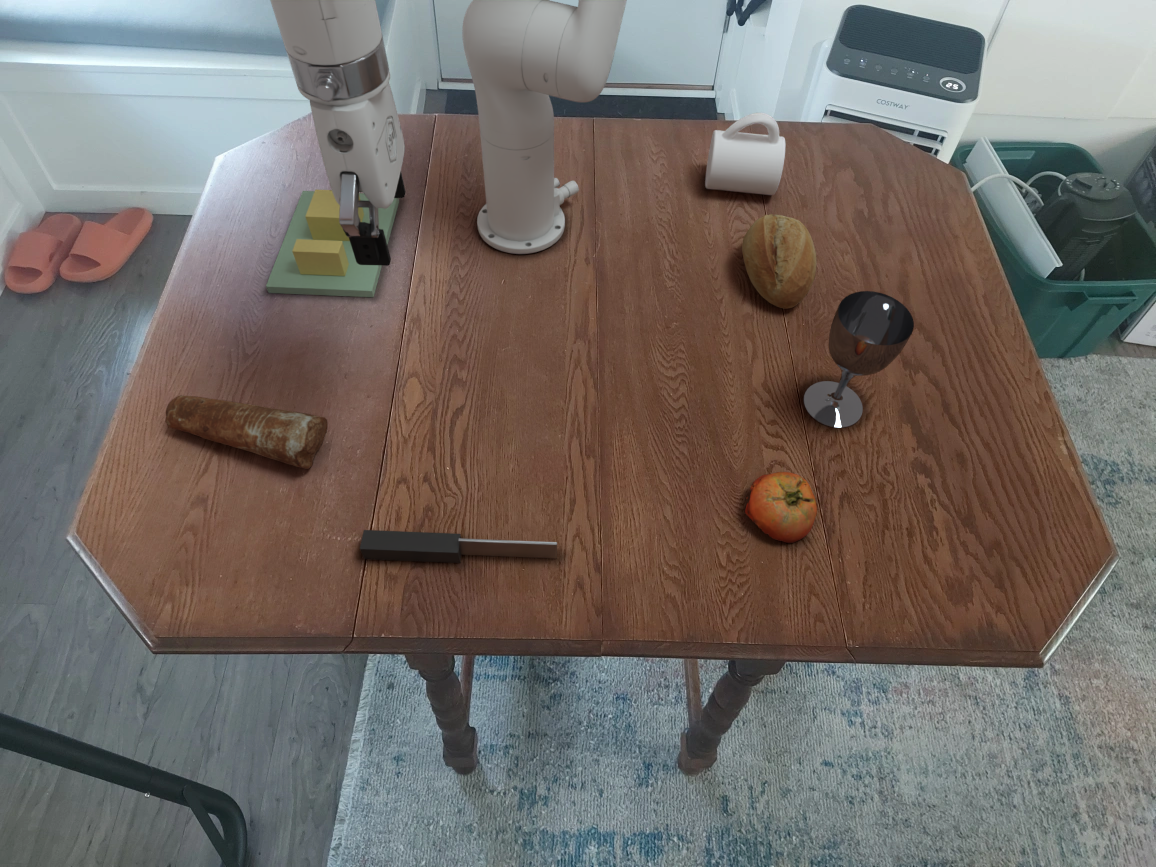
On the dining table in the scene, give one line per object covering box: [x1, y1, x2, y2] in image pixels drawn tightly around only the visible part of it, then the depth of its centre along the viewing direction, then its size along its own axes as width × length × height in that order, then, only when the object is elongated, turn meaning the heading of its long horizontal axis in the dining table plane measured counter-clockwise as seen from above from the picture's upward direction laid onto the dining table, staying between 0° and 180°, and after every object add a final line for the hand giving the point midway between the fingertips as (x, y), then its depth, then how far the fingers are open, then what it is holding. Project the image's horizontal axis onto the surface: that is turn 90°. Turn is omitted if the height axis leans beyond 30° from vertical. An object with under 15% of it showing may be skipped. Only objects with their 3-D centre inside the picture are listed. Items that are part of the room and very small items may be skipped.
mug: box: [704, 112, 787, 196], centre depth 111 cm, size 8×10×12 cm
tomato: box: [744, 471, 818, 544], centre depth 82 cm, size 8×7×7 cm
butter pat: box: [292, 239, 349, 276], centre depth 100 cm, size 2×6×4 cm, turn 88°
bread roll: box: [741, 213, 817, 309], centre depth 101 cm, size 10×15×8 cm, turn 1°
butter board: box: [265, 189, 400, 298], centre depth 104 cm, size 20×14×5 cm
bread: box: [165, 394, 328, 470], centre depth 85 cm, size 6×19×6 cm, turn 73°
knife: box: [359, 529, 558, 564], centre depth 78 cm, size 20×2×3 cm, turn 88°
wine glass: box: [803, 290, 915, 429], centre depth 86 cm, size 8×8×15 cm
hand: (382, 228), depth 75 cm, fingers open, 9 cm apart
